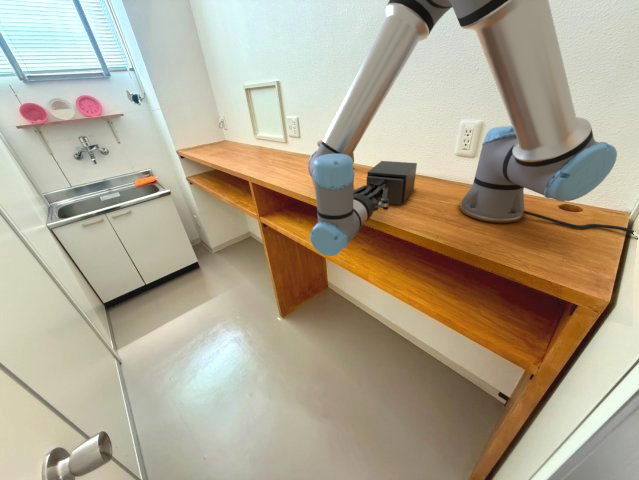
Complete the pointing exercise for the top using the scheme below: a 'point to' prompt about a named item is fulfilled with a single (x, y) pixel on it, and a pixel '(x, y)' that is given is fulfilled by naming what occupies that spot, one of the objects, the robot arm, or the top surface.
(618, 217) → the top surface
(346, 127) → the robot arm
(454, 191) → the top surface
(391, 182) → the drawer
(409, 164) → the cabinet
